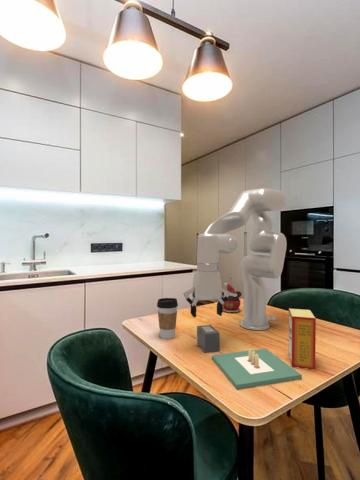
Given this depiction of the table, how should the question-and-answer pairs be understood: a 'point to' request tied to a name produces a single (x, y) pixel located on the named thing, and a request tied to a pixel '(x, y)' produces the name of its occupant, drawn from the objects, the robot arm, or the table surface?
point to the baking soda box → (302, 338)
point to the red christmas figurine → (231, 299)
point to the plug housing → (208, 338)
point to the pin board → (254, 368)
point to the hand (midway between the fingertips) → (206, 315)
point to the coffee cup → (167, 317)
